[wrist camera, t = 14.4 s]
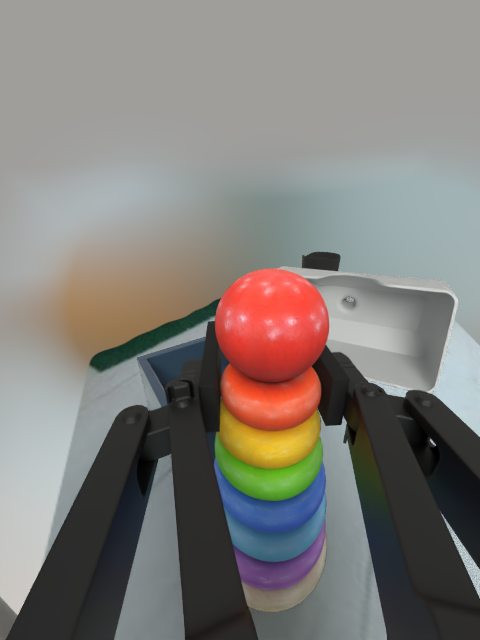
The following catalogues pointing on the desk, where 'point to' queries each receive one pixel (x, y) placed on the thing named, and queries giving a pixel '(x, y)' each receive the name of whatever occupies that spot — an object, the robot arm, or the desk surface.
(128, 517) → the robot arm
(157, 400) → the square holder
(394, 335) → the light grey open box
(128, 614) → the desk surface
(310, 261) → the pen holder
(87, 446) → the desk surface
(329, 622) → the desk surface
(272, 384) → the stacking toy
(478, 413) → the desk surface
